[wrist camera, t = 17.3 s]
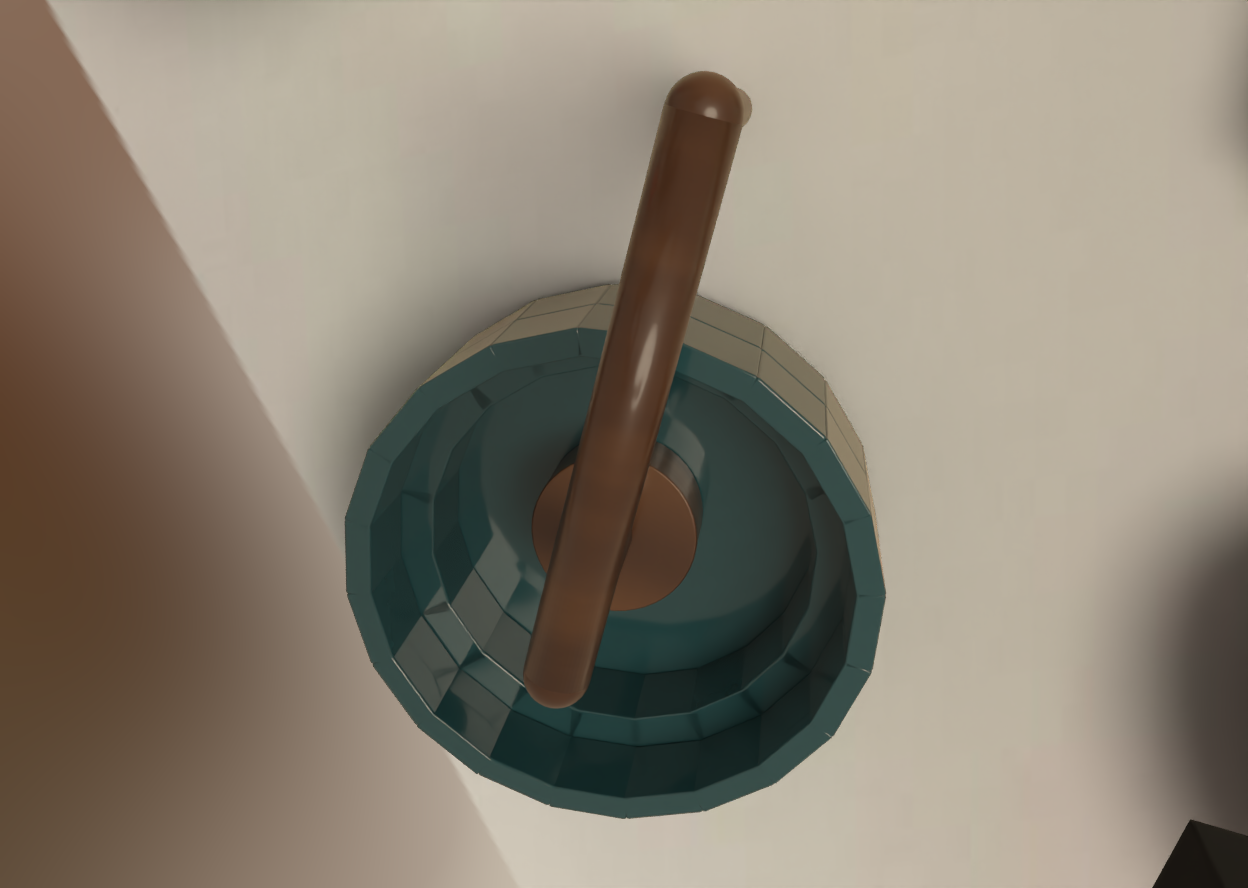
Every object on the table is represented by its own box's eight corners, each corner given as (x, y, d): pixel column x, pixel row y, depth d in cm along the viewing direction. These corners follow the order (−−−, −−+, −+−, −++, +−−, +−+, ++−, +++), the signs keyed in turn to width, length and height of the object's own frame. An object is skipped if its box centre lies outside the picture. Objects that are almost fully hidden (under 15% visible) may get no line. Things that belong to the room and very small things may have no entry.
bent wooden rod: (652, 58, 32) (578, 36, 21) (827, 103, 31) (847, 107, 20) (532, 555, 37) (421, 751, 26) (679, 598, 37) (631, 815, 26)
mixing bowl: (326, 422, 38) (242, 490, 32) (719, 187, 33) (701, 220, 27) (567, 766, 41) (529, 881, 36) (954, 600, 36) (981, 704, 31)
